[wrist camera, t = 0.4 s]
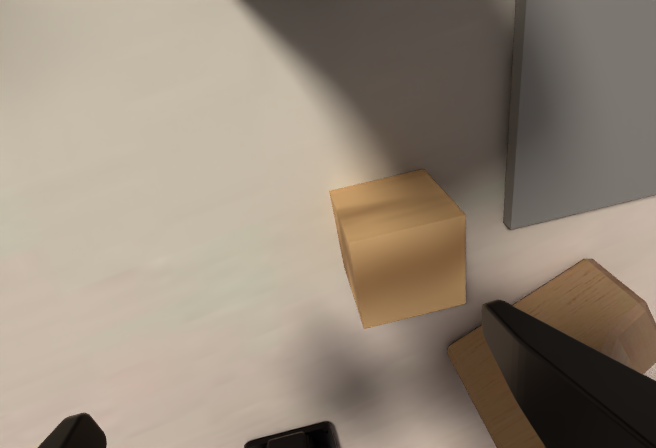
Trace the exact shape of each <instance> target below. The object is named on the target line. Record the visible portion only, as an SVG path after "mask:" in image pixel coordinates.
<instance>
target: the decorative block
mask: <svg viewBox="0 0 656 448" xmlns="http://www.w3.org/2000/svg"><path fill="white" fill-rule="evenodd" d="M512 306H514V307H516V308H518V309H520V310H522V311H524V312H525V313H527V314H529V315H531V316H533V317H535V318H537V319H539V320H541V321H543V322H544V323H546V324H548V325H550V326H552V327H554V328H556V329H558V330H560V331H562V332H563V333H565V334H567V335H569V336H571V337H573V338H575V339H577V340H579V341H581V342H583V343H584V344H586V345H588V346H590V347H592V348H594V349H596V350H598V351H600V352H602V353H603V354H605V355H607V356H609V357H611V358H613V359H615V360H617V361H619V362H621V363H622V364H624V365H626V366H628V367H630V368H632V369H634V370H636V371H638V372H640V373H641V374H644V373H645V372H646V371H647V370H648V369H649V368H651V367H652V366H653V365H654V364H655V363H656V323H655V321H654V319H653V316H652V314H651V312H650V310H649V308H648V305H647V303H646V302H645V301H644V300H643V299H642V298H640V297H639V296H638V295H637V294H635V293H634V292H633V291H632V290H630V289H629V288H628V287H627V286H625V285H624V284H623V283H622V282H621V281H619V280H618V279H617V278H616V277H614V276H613V275H612V274H611V273H609V272H608V271H607V270H606V269H604V268H603V267H602V266H601V265H599V264H598V263H597V262H596V261H595V260H593V259H583V260H582V261H580V262H579V263H577V264H576V265H574V266H572V267H571V268H569V269H568V270H566V271H565V272H563V273H562V274H560V275H559V276H557V277H555V278H554V279H552V280H551V281H549V282H548V283H546V284H545V285H543V286H542V287H540V288H538V289H537V290H535V291H534V292H532V293H531V294H529V295H528V296H526V297H525V298H523V299H521V300H520V301H518V302H517V303H515V304H514V305H512ZM447 354H448V355H449V357H450V359H451V361H452V363H453V365H454V367H455V369H456V371H457V373H458V374H459V376H460V378H461V380H462V382H463V384H464V386H465V388H466V390H467V392H468V393H469V395H470V397H471V399H472V401H473V403H474V405H475V407H476V409H477V411H478V412H479V414H480V416H481V418H482V420H483V422H484V424H485V426H486V428H487V430H488V432H489V433H490V435H491V437H492V439H493V441H494V443H495V445H496V447H497V448H546V447H545V446H544V444H543V443H542V441H541V440H540V438H539V436H538V435H537V433H536V432H535V430H534V429H533V427H532V426H531V424H530V422H529V421H528V419H527V418H526V416H525V415H524V413H523V412H522V410H521V408H520V407H519V405H518V403H517V402H516V400H515V398H514V396H513V394H512V392H511V390H510V388H509V386H508V385H507V383H506V381H505V379H504V377H503V375H502V373H501V371H500V369H499V367H498V365H497V363H496V361H495V359H494V357H493V355H492V353H491V351H490V349H489V347H488V345H487V343H486V341H485V338H484V336H483V332H482V325H481V326H479V327H478V328H476V329H475V330H473V331H471V332H470V333H468V334H467V335H465V336H464V337H462V338H460V339H459V340H457V341H456V342H454V343H453V344H451V345H450V346H449V348H448V351H447Z"/></svg>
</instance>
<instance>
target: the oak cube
mask: <svg viewBox="0 0 656 448" xmlns="http://www.w3.org/2000/svg"><path fill="white" fill-rule="evenodd" d="M329 192H330V197H331V202H332V207H333V212H334V217H335V222H336V227H337V233H338V238H339V243H340V248H341V253H342V258H343V263H344V268H345V271H346V274H347V277H348V280H349V283H350V287H351V290H352V293H353V296H354V299H355V302H356V305H357V308H358V312H359V315H360V318H361V321H362V324H363V327H364V329H366V328H370V327H374V326H378V325H382V324H386V323H390V322H394V321H398V320H402V319H406V318H410V317H414V316H418V315H422V314H426V313H430V312H434V311H438V310H442V309H447V308H451V307H455V306H459V305H463V304H466V215H465V214H464V212H463V211H462V210H461V209H460V208H459V207H458V206H457V205H456V204H455V203H454V202H453V200H452V199H451V198H450V197H449V196H448V195H447V194H446V193H445V192H444V191H443V190H442V188H441V187H440V186H439V185H438V184H437V183H436V182H435V181H434V180H433V179H432V177H431V176H430V175H429V174H428V173H427V172H426V171H425V170H424V169H421V170H417V171H413V172H408V173H404V174H400V175H395V176H391V177H387V178H383V179H378V180H374V181H370V182H365V183H361V184H357V185H352V186H348V187H344V188H340V189H335V190H331V191H329Z"/></svg>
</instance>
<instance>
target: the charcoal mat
mask: <svg viewBox="0 0 656 448" xmlns="http://www.w3.org/2000/svg"><path fill="white" fill-rule="evenodd" d="M652 195H656V0H516V9H515V26H514V44H513V62H512V79H511V97H510V115H509V132H508V150H507V167H506V185H505V203H504V220H503V223H504V224H505V225H506V226H507V227H509V228H510V229H516V228H520V227H524V226H528V225H532V224H536V223H540V222H545V221H549V220H553V219H557V218H561V217H565V216H569V215H574V214H578V213H582V212H586V211H590V210H594V209H598V208H603V207H607V206H611V205H615V204H619V203H623V202H627V201H632V200H636V199H640V198H644V197H648V196H652Z"/></svg>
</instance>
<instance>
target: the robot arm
mask: <svg viewBox="0 0 656 448" xmlns="http://www.w3.org/2000/svg"><path fill="white" fill-rule="evenodd" d="M482 332H483V336H484V338H485V341H486V343H487V345H488V347H489V349H490V351H491V353H492V355H493V357H494V359H495V361H496V363H497V365H498V367H499V369H500V371H501V373H502V375H503V377H504V379H505V381H506V383H507V385H508V386H509V388H510V390H511V392H512V394H513V396H514V398H515V400H516V402H517V403H518V405H519V407H520V408H521V410H522V412H523V413H524V415H525V416H526V418H527V419H528V421H529V422H530V424H531V426H532V427H533V429H534V430H535V432H536V433H537V435H538V436H539V438H540V440H541V441H542V443H543V444H544V446H545V447H546V448H656V381H655V380H653V379H651V378H649V377H647V376H645V375H643V374H641V373H640V372H638V371H636V370H634V369H632V368H630V367H628V366H626V365H624V364H622V363H621V362H619V361H617V360H615V359H613V358H611V357H609V356H607V355H605V354H603V353H602V352H600V351H598V350H596V349H594V348H592V347H590V346H588V345H586V344H584V343H583V342H581V341H579V340H577V339H575V338H573V337H571V336H569V335H567V334H565V333H563V332H562V331H560V330H558V329H556V328H554V327H552V326H550V325H548V324H546V323H544V322H543V321H541V320H539V319H537V318H535V317H533V316H531V315H529V314H527V313H525V312H524V311H522V310H520V309H518V308H516V307H514V306H512V305H510V304H508V303H506V302H505V301H502V300H496V301H492V302H488V303H485V304H483V306H482ZM106 445H107V441H106V436H105V434H104V432H103V431H102V430H101V428H100V427H99V426H98V425H97V423H96V422H95V421H94V420H93V418H92V417H91V416H90V415H89V414H87V413H80V414H77V415H73V416H69V417H67V418H65V419H64V420H63V421H62V422H61V423H60V424H59V425H58V426H57V427H56V428H55V429H54V430H53V431H52V433H51V434H50V435H49V436H48V437H47V438H46V439H45V440H44V441H43V442H42V443H41V445H40V446H39V447H38V448H106ZM244 448H337V444H336V441H335V438H334V434H333V431H332V427H331V425H330V424H329V423H321V424H317V425H313V426H309V427H305V428H301V429H297V430H294V431H290V432H286V433H282V434H278V435H274V436H270V437H266V438H263V439H259V440H255V441H251V442H248V443H246V444H245V445H244Z"/></svg>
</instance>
